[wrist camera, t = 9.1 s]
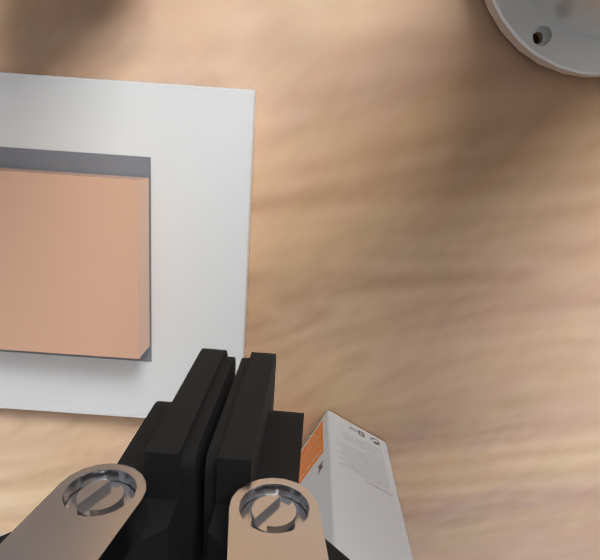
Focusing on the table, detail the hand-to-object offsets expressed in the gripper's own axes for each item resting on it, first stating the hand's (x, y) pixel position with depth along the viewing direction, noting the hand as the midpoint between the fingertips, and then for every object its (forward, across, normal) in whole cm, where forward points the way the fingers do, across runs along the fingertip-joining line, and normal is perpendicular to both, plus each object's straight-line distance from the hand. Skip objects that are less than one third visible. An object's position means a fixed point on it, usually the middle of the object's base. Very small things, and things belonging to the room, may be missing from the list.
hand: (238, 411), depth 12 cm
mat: (+17, +10, +1) cm, 19 cm away
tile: (+15, +7, +1) cm, 16 cm away
